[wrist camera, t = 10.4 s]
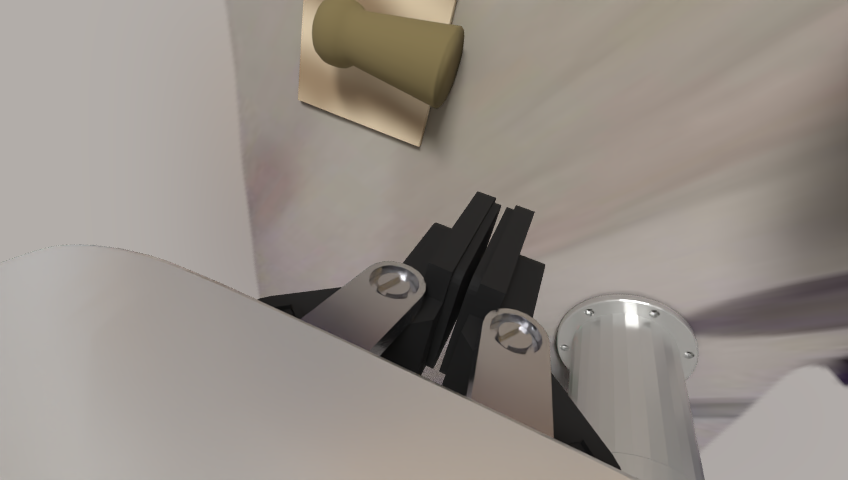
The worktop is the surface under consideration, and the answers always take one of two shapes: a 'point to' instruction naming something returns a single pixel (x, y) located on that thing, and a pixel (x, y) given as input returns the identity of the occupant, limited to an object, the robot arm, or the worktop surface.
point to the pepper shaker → (390, 48)
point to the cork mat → (367, 76)
